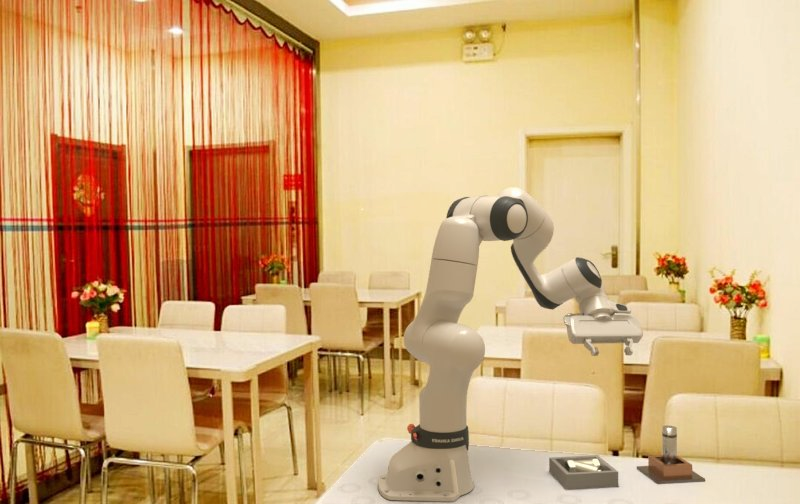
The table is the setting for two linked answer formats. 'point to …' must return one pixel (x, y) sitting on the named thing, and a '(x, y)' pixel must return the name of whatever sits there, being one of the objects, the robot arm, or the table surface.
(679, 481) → the collar
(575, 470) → the pipe fitting
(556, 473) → the parts corral
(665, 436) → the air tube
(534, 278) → the robot arm
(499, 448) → the table surface
